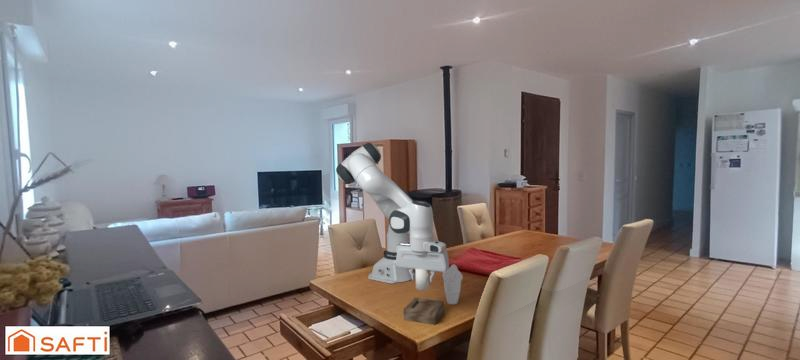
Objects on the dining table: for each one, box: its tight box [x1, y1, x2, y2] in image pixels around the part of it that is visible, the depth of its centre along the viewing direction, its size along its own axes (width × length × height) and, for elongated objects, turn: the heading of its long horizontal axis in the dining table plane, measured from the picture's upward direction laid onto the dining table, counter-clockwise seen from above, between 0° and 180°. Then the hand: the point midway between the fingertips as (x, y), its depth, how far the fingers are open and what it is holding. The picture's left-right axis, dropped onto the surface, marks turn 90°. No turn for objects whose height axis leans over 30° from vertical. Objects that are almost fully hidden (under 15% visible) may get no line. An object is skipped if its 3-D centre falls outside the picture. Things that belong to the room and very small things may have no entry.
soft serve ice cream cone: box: [441, 263, 464, 305], centre depth 151 cm, size 8×8×16 cm
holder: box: [403, 297, 445, 325], centre depth 139 cm, size 12×12×4 cm
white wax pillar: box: [414, 269, 430, 291], centre depth 138 cm, size 5×5×8 cm
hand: (422, 280), depth 138 cm, fingers closed on white wax pillar, 5 cm apart
